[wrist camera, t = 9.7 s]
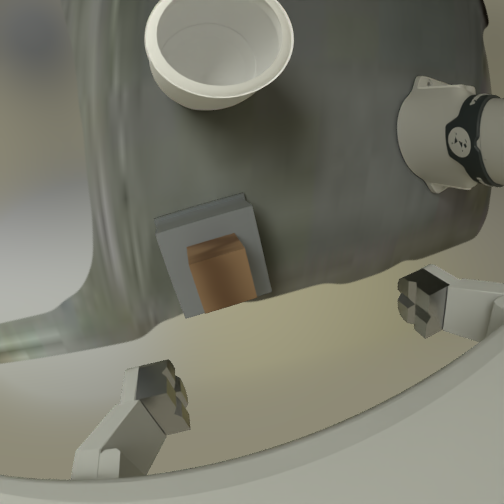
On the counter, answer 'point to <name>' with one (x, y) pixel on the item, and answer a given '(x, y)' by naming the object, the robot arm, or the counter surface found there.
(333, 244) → the counter surface
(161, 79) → the jar
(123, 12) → the counter surface
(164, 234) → the pedestal
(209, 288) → the cube
